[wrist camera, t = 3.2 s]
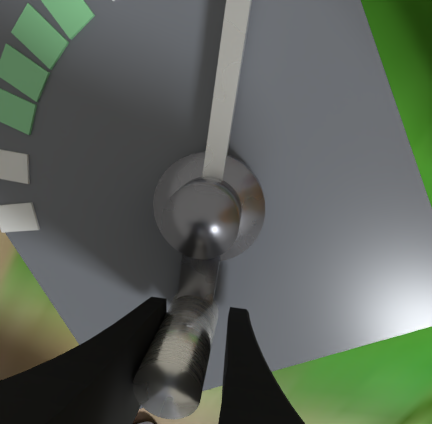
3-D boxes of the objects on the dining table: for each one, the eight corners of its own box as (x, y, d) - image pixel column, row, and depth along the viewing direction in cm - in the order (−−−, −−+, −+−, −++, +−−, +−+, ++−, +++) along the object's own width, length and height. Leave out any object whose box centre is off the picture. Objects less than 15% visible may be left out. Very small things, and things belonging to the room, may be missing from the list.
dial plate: (434, 282, 14) (472, 316, 11) (142, 374, 18) (123, 414, 15) (264, -188, 10) (266, -290, 8) (-56, 58, 14) (-124, 44, 12)
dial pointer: (238, 337, 13) (229, 434, 9) (147, 317, 13) (98, 402, 9) (319, -54, 9) (370, -206, 5) (184, -67, 9) (125, -220, 5)
